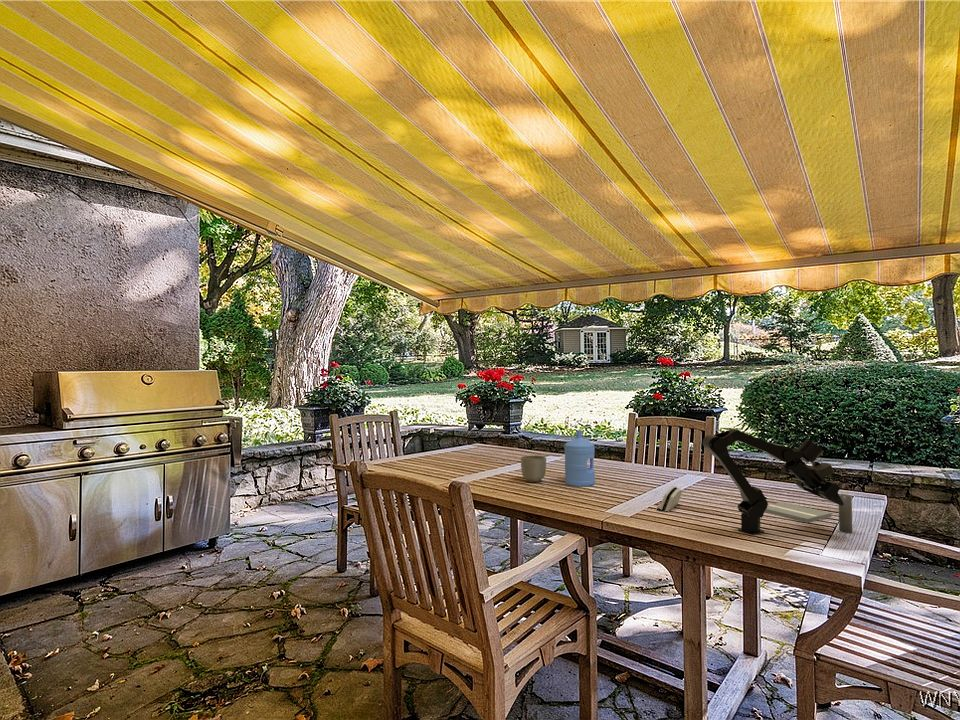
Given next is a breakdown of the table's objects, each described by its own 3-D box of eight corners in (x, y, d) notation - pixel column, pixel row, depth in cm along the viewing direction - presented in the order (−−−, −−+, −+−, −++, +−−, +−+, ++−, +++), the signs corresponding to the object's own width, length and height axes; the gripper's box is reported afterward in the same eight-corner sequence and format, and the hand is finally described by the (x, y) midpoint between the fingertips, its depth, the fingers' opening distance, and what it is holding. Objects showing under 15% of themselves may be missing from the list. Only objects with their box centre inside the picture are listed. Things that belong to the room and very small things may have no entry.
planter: (521, 478, 288) (520, 455, 288) (546, 478, 287) (545, 455, 287) (520, 484, 274) (520, 459, 274) (547, 484, 273) (546, 459, 273)
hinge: (666, 501, 234) (674, 481, 232) (677, 506, 231) (684, 486, 230) (655, 510, 221) (663, 489, 219) (666, 515, 218) (673, 494, 216)
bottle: (848, 533, 187) (847, 494, 187) (836, 530, 190) (835, 492, 190) (854, 532, 188) (853, 493, 189) (843, 529, 192) (842, 491, 192)
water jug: (568, 487, 266) (567, 432, 266) (562, 480, 281) (561, 429, 282) (598, 486, 266) (597, 432, 266) (591, 480, 281) (590, 428, 282)
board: (807, 522, 200) (807, 518, 200) (758, 510, 218) (758, 506, 218) (831, 516, 208) (831, 512, 208) (782, 505, 225) (782, 501, 225)
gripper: (834, 460, 181) (867, 491, 180) (803, 451, 200) (833, 480, 199) (811, 483, 181) (845, 514, 180) (783, 472, 200) (813, 501, 199)
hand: (834, 501), depth 190 cm, fingers open, 9 cm apart
